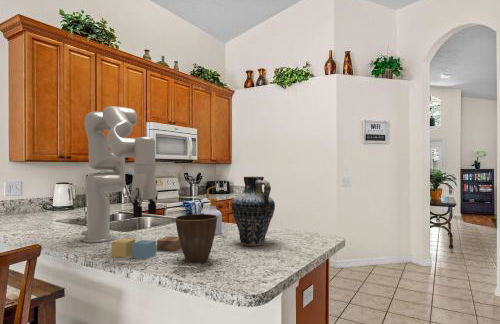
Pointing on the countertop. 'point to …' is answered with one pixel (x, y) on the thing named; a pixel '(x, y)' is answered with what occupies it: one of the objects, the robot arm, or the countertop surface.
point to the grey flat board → (170, 251)
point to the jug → (253, 211)
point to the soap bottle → (215, 213)
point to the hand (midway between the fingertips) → (145, 215)
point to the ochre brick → (122, 247)
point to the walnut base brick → (168, 244)
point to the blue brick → (144, 249)
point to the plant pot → (196, 236)
